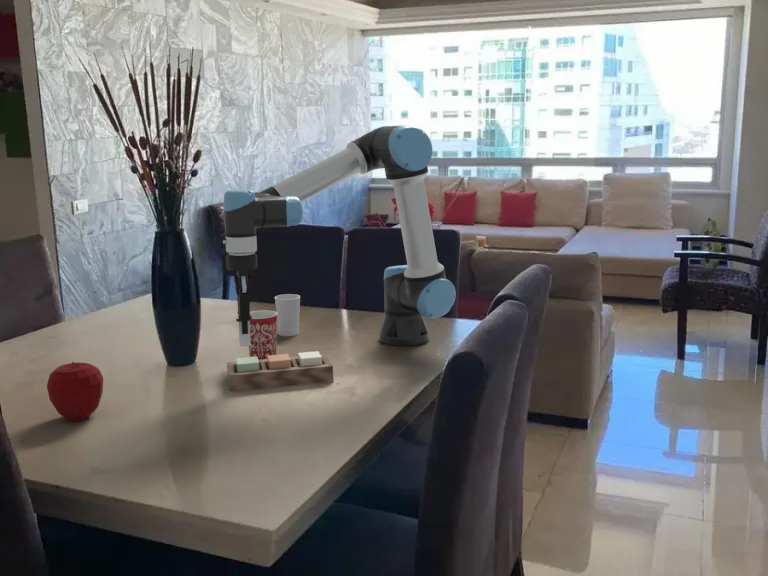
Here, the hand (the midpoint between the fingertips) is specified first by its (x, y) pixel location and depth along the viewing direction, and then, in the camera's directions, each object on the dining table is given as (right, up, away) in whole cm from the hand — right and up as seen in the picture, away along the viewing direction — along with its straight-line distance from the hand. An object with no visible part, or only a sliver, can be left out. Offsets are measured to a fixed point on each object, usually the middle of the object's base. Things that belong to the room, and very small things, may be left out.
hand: (245, 345), depth 189 cm
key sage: (0, -7, +2) cm, 8 cm away
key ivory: (+16, -6, +6) cm, 18 cm away
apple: (-34, -15, -19) cm, 42 cm away
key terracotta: (+8, -7, +4) cm, 11 cm away
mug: (+1, -6, +23) cm, 23 cm away
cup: (+5, 0, +49) cm, 49 cm away
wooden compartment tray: (+8, -9, +4) cm, 13 cm away
